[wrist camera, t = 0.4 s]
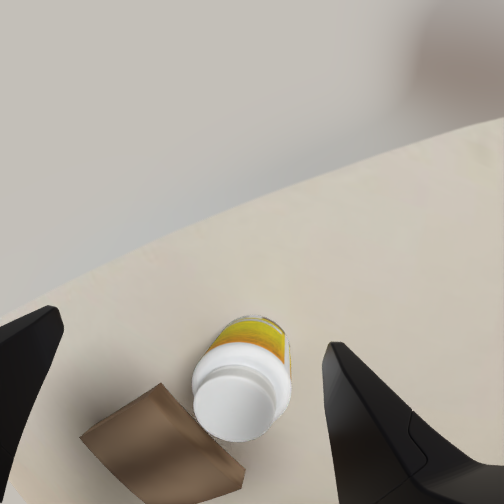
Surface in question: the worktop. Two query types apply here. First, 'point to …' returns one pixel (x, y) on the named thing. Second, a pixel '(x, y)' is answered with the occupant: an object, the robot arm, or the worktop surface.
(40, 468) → the worktop surface
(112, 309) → the worktop surface
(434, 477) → the robot arm
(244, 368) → the supplement bottle
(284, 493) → the worktop surface
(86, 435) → the walnut plinth
